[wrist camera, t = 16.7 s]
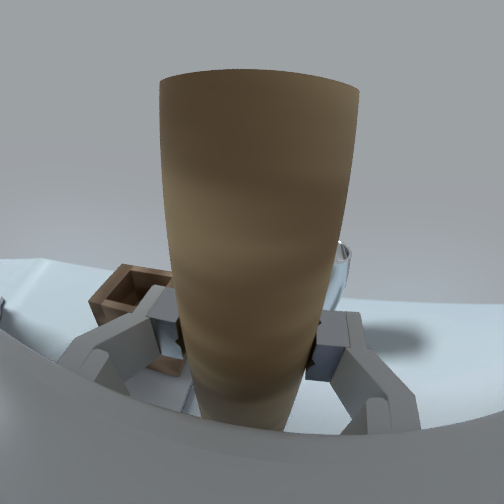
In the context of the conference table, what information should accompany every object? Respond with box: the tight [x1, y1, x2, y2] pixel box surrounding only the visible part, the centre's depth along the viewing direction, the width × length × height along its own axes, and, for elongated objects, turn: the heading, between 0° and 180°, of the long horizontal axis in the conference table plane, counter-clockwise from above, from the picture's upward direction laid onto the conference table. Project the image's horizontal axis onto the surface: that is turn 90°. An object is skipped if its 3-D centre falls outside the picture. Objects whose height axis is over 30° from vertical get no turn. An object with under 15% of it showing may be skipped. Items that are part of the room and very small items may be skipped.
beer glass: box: [322, 241, 352, 311], centre depth 35 cm, size 7×7×15 cm
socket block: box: [88, 264, 187, 377], centre depth 32 cm, size 10×8×10 cm
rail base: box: [124, 358, 193, 412], centre depth 31 cm, size 13×19×7 cm
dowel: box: [159, 69, 359, 432], centre depth 9 cm, size 4×4×16 cm
